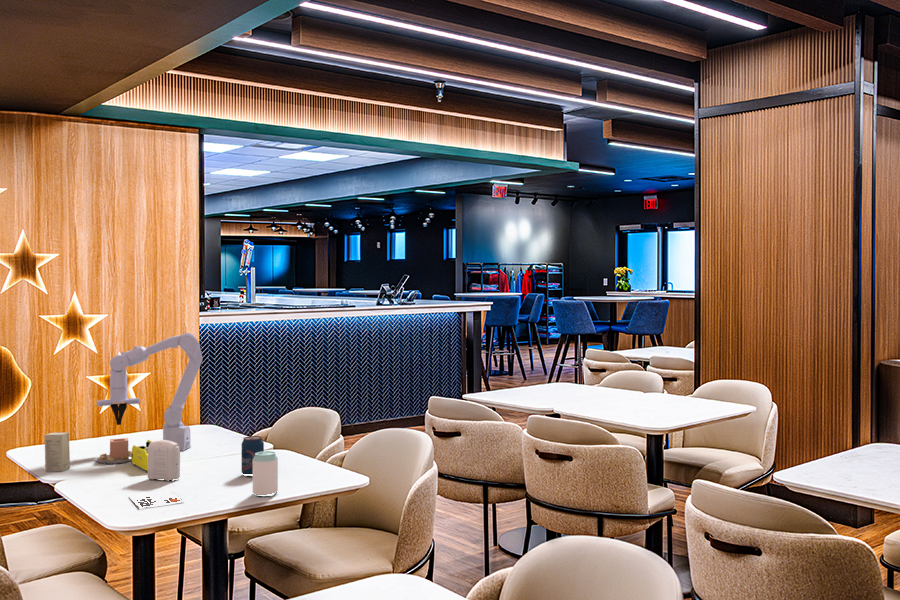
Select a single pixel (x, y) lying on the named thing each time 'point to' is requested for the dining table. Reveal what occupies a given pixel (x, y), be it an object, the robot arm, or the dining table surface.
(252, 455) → the soda can
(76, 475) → the dining table surface
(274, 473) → the can
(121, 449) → the pink square tube
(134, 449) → the yellow toy chassis
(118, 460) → the hub
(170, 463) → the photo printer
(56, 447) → the skincare box
